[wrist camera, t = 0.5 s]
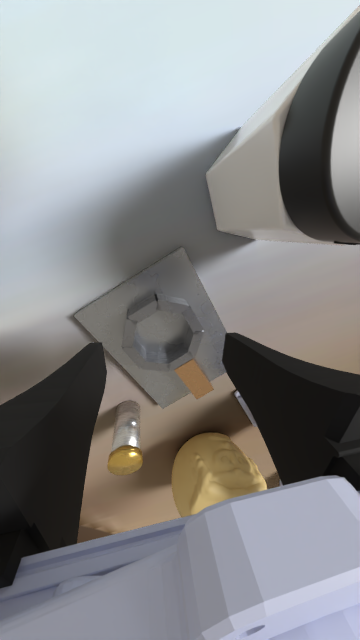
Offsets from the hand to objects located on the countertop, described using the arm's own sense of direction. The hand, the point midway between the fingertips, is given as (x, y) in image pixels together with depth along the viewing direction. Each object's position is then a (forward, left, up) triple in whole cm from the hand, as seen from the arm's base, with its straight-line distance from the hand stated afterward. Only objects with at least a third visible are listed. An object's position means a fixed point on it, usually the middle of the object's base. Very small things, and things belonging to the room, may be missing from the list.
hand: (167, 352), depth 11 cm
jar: (+4, -13, -10) cm, 17 cm away
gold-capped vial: (-11, +11, -10) cm, 18 cm away
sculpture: (-26, +7, -10) cm, 29 cm away
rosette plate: (-5, +1, -10) cm, 11 cm away
